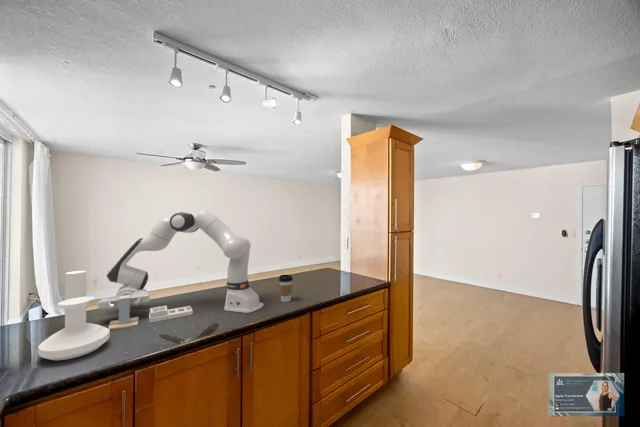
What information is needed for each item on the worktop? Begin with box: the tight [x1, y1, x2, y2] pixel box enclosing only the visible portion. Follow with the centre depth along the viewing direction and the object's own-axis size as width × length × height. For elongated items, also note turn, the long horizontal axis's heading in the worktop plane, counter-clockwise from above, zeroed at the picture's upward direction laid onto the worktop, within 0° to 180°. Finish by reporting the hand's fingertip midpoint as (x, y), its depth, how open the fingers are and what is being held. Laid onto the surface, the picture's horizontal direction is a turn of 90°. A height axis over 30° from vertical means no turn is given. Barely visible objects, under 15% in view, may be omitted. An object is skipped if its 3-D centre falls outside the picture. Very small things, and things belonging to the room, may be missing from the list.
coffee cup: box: [278, 274, 294, 303], centre depth 160 cm, size 8×8×15 cm
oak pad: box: [108, 315, 139, 332], centre depth 124 cm, size 11×11×1 cm
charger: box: [118, 295, 131, 325], centre depth 124 cm, size 5×4×12 cm
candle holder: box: [37, 296, 111, 362], centre depth 99 cm, size 20×20×19 cm
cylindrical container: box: [64, 270, 87, 328], centre depth 122 cm, size 7×7×25 cm
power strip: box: [148, 305, 194, 324], centre depth 135 cm, size 19×9×4 cm, turn 124°
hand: (124, 304), depth 123 cm, fingers open, 8 cm apart
